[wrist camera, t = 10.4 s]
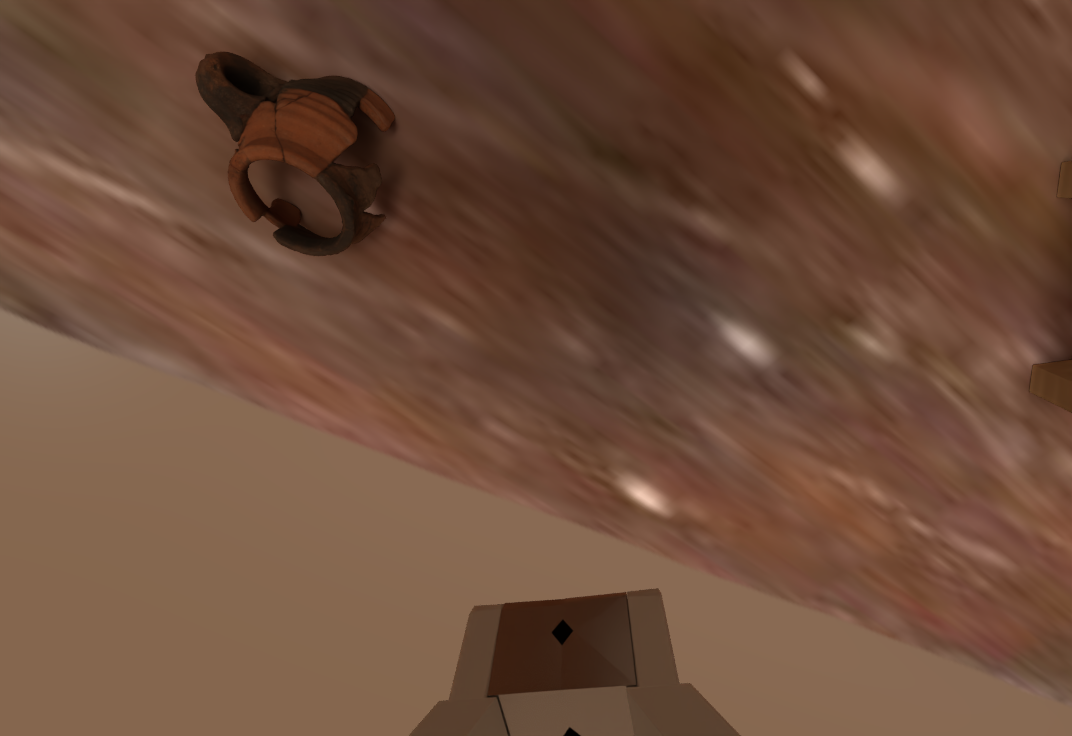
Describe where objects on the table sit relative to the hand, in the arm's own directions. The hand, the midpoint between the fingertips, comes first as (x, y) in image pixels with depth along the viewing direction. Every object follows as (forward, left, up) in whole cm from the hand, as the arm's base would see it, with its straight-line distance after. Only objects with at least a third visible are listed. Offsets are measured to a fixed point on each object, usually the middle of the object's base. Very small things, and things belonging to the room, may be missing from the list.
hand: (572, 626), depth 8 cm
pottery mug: (-11, -14, -30) cm, 35 cm away
